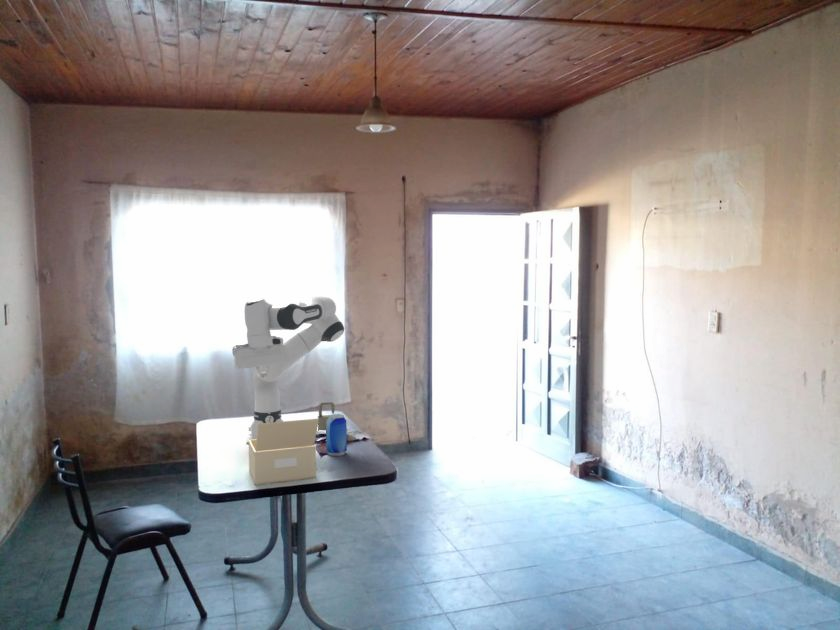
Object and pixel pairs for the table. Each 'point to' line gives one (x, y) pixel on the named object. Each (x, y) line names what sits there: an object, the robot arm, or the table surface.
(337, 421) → the beer can
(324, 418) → the padlock
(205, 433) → the table surface
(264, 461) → the carton
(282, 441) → the carton flap
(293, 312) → the robot arm
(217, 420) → the table surface
